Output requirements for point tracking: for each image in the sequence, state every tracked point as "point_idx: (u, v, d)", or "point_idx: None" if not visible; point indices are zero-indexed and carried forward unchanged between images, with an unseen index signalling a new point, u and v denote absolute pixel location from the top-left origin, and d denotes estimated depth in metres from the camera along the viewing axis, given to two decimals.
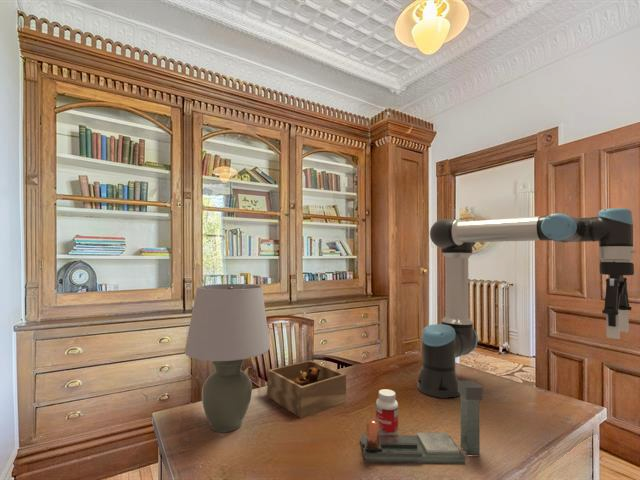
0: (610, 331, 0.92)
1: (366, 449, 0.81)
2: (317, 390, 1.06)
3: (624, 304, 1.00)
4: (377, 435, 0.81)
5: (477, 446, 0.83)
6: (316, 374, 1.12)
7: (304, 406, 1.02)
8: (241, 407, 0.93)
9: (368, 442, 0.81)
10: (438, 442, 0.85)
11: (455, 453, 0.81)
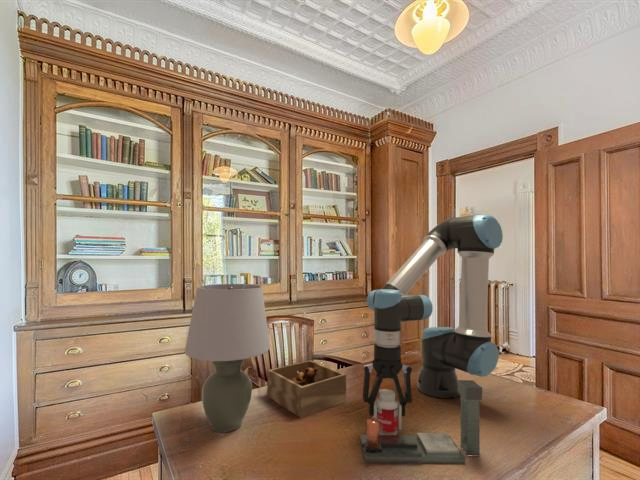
0: None
1: (366, 449, 0.81)
2: (317, 390, 1.06)
3: (398, 396, 0.94)
4: (377, 435, 0.81)
5: (477, 446, 0.83)
6: (313, 374, 1.12)
7: (304, 406, 1.02)
8: (241, 407, 0.93)
9: (368, 442, 0.81)
10: (438, 442, 0.85)
11: (455, 453, 0.81)
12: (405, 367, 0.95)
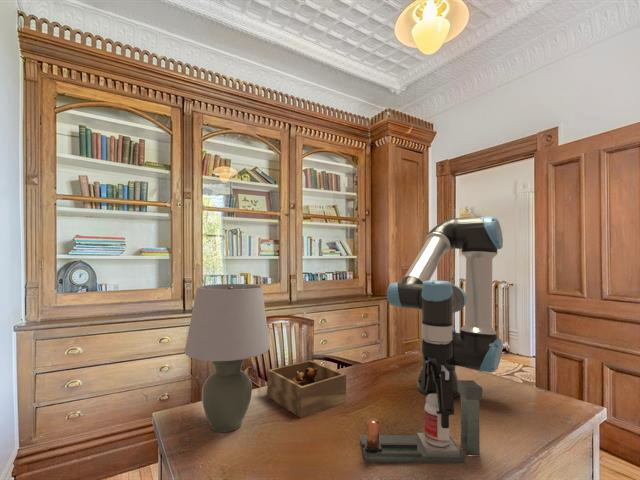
0: (442, 432, 0.81)
1: (366, 449, 0.81)
2: (317, 390, 1.06)
3: (434, 389, 0.90)
4: (377, 435, 0.81)
5: (477, 446, 0.83)
6: (313, 374, 1.12)
7: (304, 406, 1.02)
8: (241, 407, 0.93)
9: (368, 442, 0.81)
10: None
11: (455, 453, 0.81)
12: None
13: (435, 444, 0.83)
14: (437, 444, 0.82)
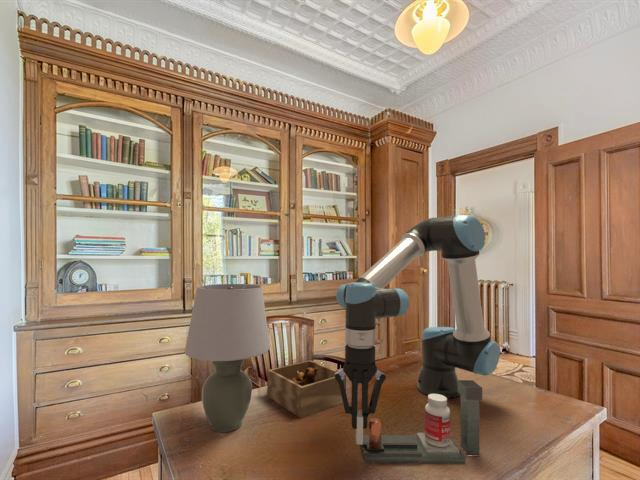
0: (356, 433, 0.83)
1: (368, 449, 0.81)
2: (317, 390, 1.06)
3: (362, 404, 0.82)
4: (379, 435, 0.81)
5: (477, 446, 0.83)
6: (313, 374, 1.12)
7: (304, 406, 1.02)
8: (241, 407, 0.93)
9: (370, 442, 0.81)
10: None
11: (455, 453, 0.81)
12: (379, 373, 0.83)
13: (435, 444, 0.83)
14: (437, 444, 0.82)
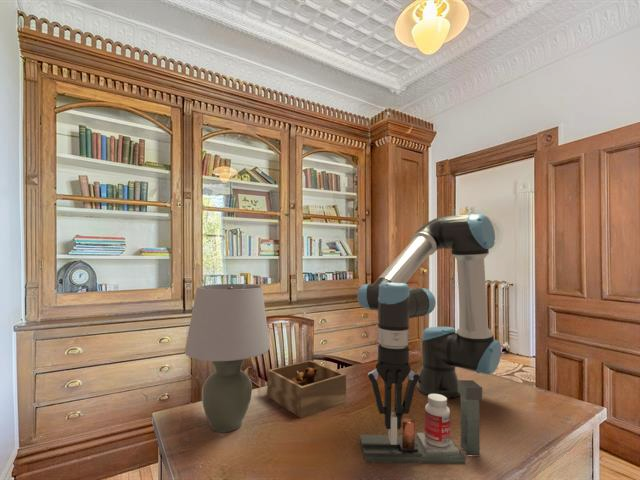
0: (389, 433, 0.83)
1: (402, 449, 0.81)
2: (317, 390, 1.06)
3: (396, 404, 0.82)
4: (413, 435, 0.81)
5: (477, 446, 0.83)
6: (313, 374, 1.12)
7: (304, 406, 1.02)
8: (241, 407, 0.93)
9: (404, 442, 0.82)
10: None
11: (455, 453, 0.81)
12: (412, 373, 0.83)
13: (435, 444, 0.83)
14: (437, 444, 0.82)
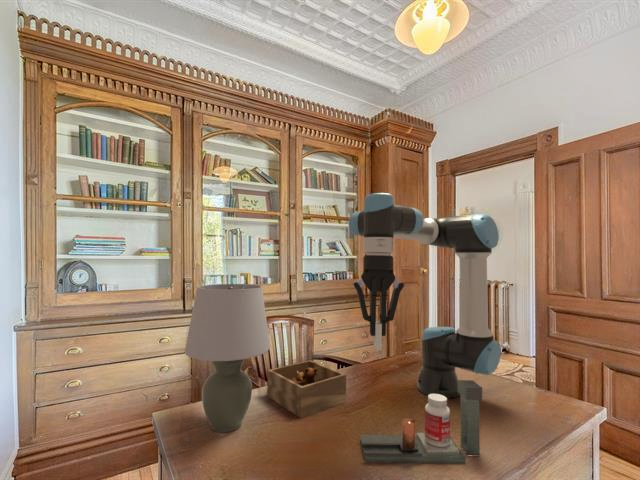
0: (374, 341, 0.84)
1: (402, 449, 0.81)
2: (317, 390, 1.06)
3: (381, 312, 0.83)
4: (413, 435, 0.81)
5: (477, 446, 0.83)
6: (313, 374, 1.12)
7: (304, 406, 1.02)
8: (241, 407, 0.93)
9: (404, 442, 0.82)
10: None
11: (455, 453, 0.81)
12: (397, 282, 0.84)
13: (435, 444, 0.83)
14: (437, 444, 0.82)
